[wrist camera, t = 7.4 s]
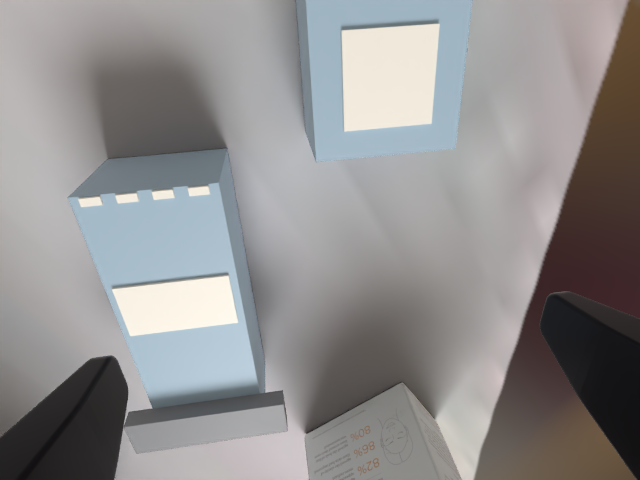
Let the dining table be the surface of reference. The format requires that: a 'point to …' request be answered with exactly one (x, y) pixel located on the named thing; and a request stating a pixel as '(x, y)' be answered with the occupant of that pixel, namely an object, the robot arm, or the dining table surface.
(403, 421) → the small box
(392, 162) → the dining table surface
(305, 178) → the dining table surface
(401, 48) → the light blue block
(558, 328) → the robot arm
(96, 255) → the blue notched block
